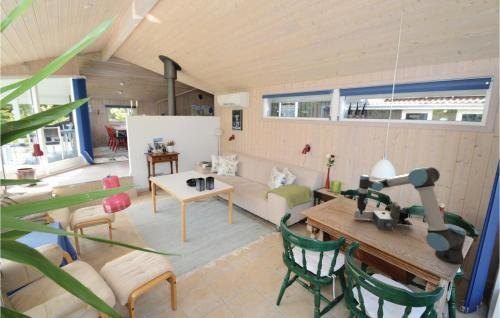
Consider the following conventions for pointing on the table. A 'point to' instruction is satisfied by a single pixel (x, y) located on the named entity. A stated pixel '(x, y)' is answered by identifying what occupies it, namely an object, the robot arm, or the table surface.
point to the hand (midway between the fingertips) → (359, 216)
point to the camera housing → (382, 219)
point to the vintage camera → (399, 215)
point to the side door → (364, 215)
